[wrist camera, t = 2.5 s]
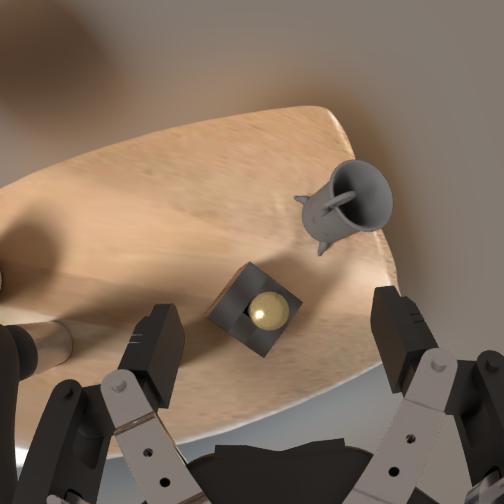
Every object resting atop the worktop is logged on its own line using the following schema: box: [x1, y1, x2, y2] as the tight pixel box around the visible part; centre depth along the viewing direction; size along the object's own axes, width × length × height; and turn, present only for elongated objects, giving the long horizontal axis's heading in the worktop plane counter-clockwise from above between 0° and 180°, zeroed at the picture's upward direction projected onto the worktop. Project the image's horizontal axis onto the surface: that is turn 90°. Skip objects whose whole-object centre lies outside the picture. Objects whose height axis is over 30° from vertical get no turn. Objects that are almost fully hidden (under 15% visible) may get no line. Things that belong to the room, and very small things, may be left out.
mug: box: [294, 160, 394, 256], centre depth 60 cm, size 19×15×25 cm
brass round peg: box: [245, 292, 289, 330], centre depth 51 cm, size 6×6×12 cm
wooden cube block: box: [204, 262, 303, 358], centre depth 59 cm, size 12×12×12 cm
